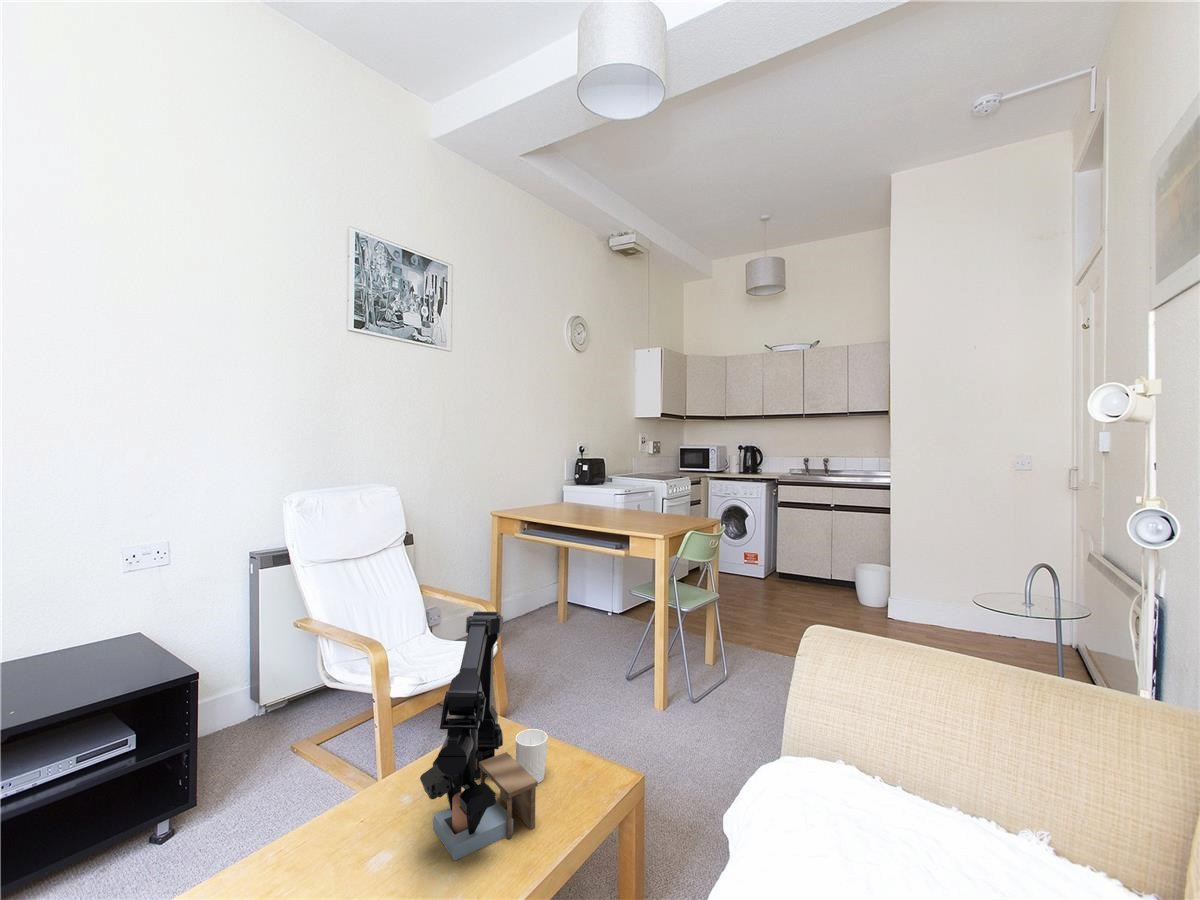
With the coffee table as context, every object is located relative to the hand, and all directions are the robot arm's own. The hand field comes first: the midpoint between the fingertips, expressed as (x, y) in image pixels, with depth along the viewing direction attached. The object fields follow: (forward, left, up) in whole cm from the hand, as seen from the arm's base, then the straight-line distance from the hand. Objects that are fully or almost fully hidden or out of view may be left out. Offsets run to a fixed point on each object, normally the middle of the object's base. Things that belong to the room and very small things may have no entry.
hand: (462, 821), depth 114 cm
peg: (0, 0, -3) cm, 3 cm away
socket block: (0, +2, -3) cm, 4 cm away
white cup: (-9, +22, -3) cm, 24 cm away
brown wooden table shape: (0, +10, -3) cm, 11 cm away
